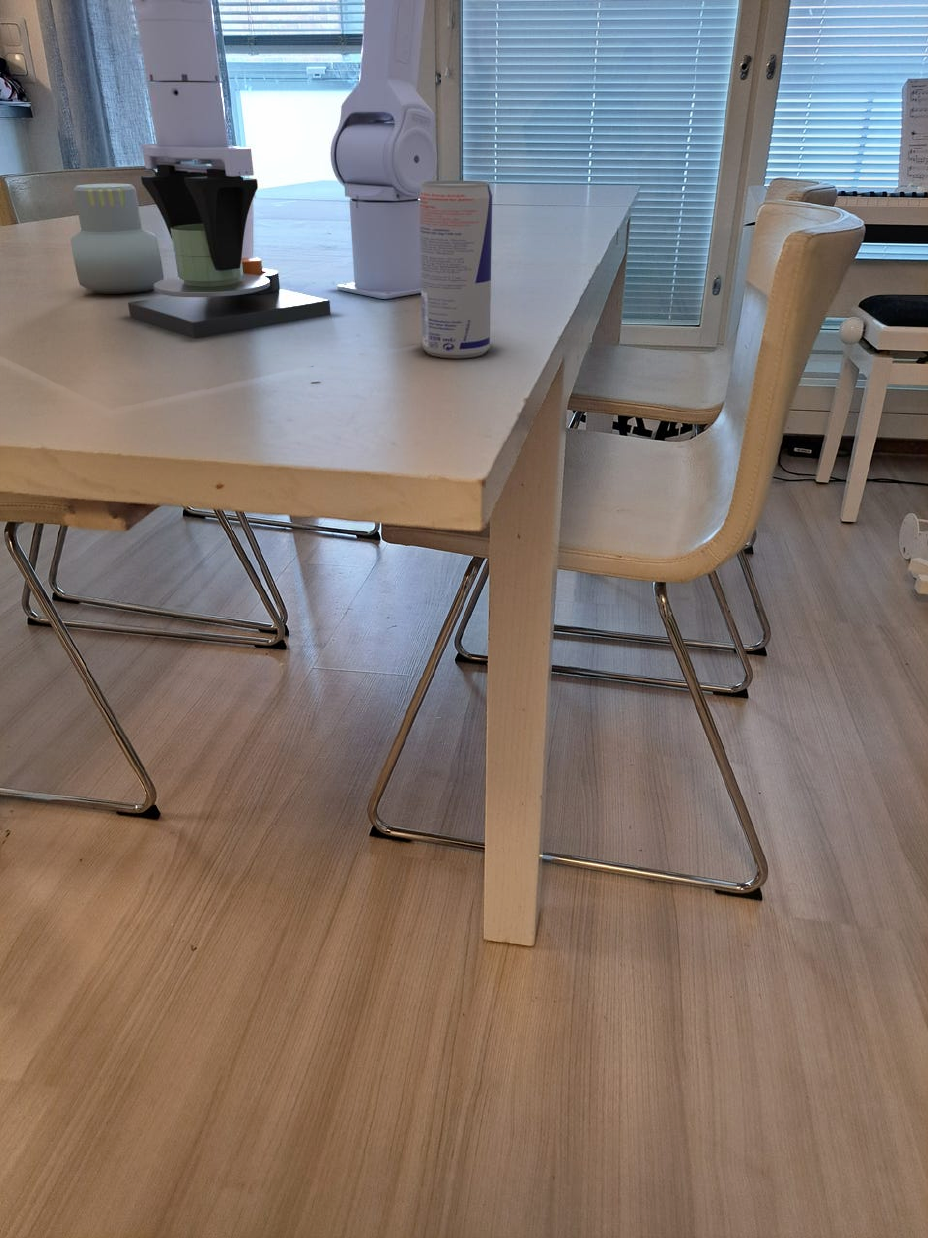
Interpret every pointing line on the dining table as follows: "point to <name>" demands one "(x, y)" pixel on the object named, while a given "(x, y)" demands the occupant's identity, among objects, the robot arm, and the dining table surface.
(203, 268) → the cup
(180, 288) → the scale pan
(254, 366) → the dining table surface
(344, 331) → the dining table surface
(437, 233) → the energy drink
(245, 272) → the tare button
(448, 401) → the dining table surface
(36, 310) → the dining table surface
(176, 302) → the scale
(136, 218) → the air freshener
